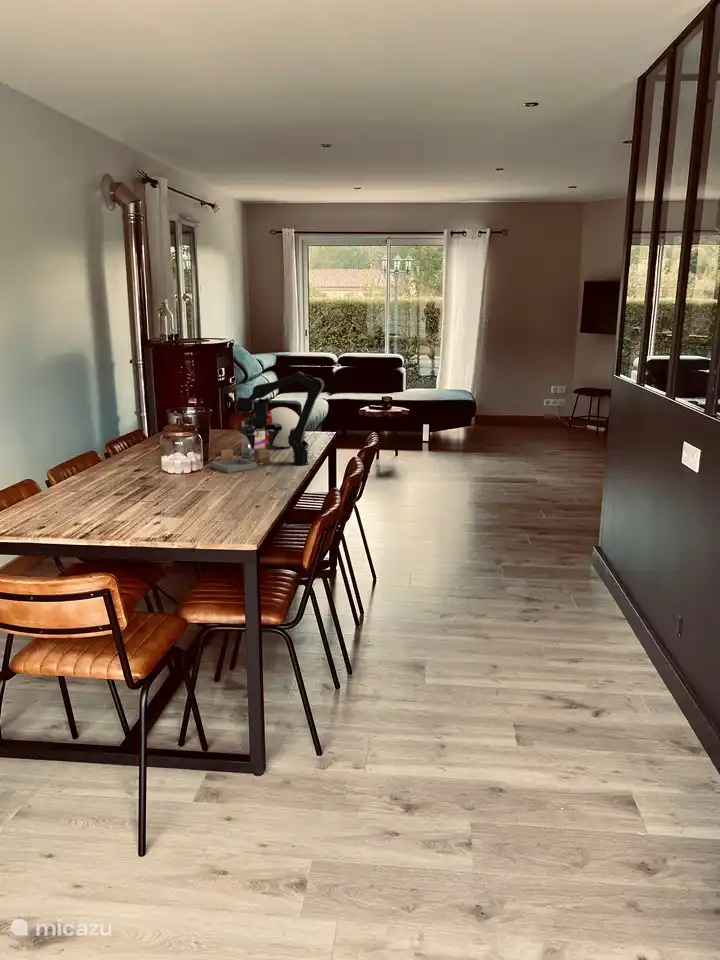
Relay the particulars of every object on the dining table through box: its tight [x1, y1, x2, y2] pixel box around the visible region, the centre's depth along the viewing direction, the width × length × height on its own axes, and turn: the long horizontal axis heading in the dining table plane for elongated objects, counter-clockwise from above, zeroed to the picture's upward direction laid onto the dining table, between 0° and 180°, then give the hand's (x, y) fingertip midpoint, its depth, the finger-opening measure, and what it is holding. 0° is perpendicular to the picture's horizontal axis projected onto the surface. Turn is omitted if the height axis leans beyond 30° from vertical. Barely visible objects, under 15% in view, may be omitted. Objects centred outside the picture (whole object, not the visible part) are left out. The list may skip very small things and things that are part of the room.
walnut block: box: [253, 448, 270, 464], centre depth 330 cm, size 5×5×6 cm
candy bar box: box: [241, 420, 267, 456], centre depth 348 cm, size 11×5×16 cm, turn 143°
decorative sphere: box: [265, 406, 300, 448], centre depth 365 cm, size 20×20×20 cm
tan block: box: [221, 449, 235, 461], centre depth 331 cm, size 5×5×5 cm
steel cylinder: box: [241, 443, 253, 460], centre depth 337 cm, size 4×4×7 cm
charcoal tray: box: [211, 457, 258, 474], centre depth 318 cm, size 14×14×2 cm
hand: (261, 447), depth 329 cm, fingers open, 9 cm apart
